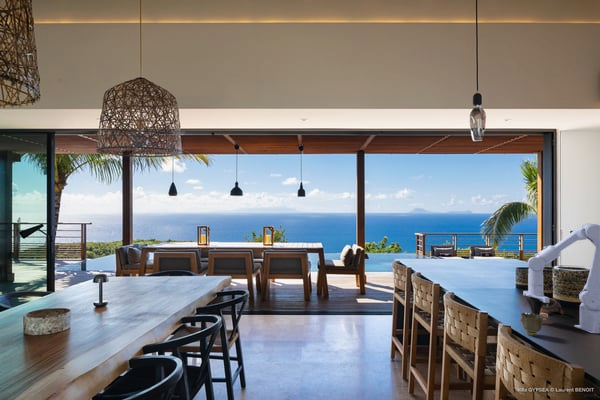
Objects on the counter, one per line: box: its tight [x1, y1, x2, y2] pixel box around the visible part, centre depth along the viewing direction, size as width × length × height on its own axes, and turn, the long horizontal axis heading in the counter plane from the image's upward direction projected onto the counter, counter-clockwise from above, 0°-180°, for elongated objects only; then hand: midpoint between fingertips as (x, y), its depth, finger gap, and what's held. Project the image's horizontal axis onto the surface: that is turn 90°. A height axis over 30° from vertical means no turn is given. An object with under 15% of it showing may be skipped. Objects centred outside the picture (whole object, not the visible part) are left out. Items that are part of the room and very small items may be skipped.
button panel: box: [519, 317, 553, 325], centre depth 167 cm, size 5×11×1 cm, turn 93°
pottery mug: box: [540, 297, 564, 316], centre depth 184 cm, size 12×10×8 cm
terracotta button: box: [539, 312, 549, 319], centre depth 167 cm, size 3×3×2 cm
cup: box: [520, 312, 543, 337], centre depth 150 cm, size 8×7×8 cm
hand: (535, 315), depth 167 cm, fingers closed, pressing on sage button
